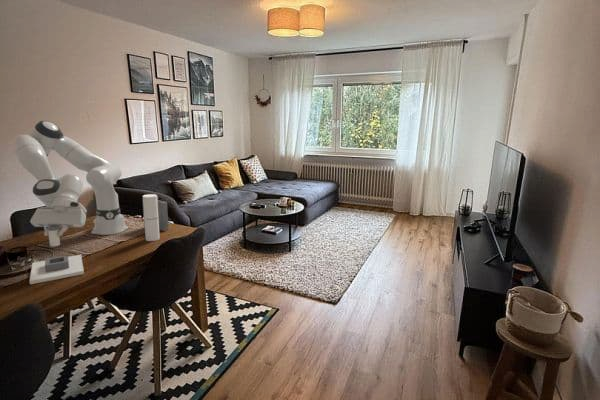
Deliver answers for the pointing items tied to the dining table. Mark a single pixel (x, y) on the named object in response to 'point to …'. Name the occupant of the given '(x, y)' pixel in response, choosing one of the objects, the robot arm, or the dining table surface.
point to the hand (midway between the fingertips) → (53, 235)
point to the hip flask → (162, 215)
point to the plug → (53, 236)
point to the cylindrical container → (151, 217)
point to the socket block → (56, 268)
